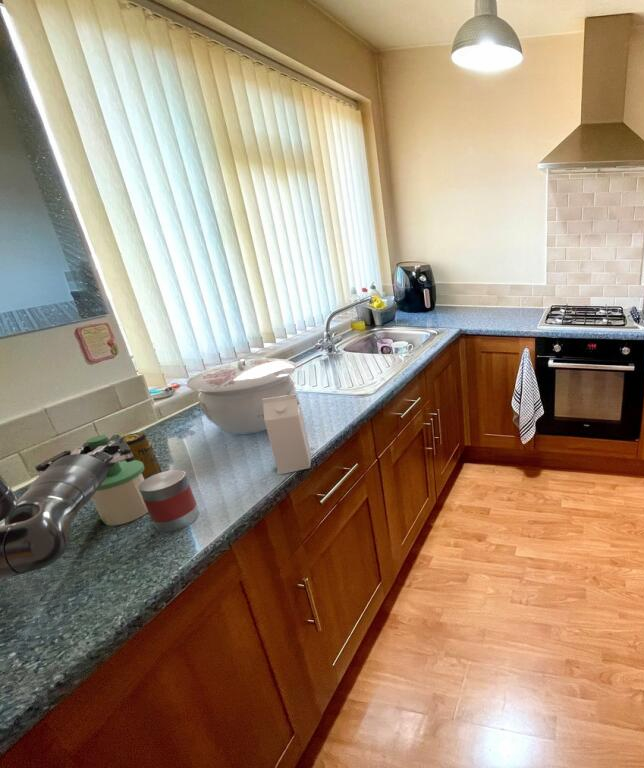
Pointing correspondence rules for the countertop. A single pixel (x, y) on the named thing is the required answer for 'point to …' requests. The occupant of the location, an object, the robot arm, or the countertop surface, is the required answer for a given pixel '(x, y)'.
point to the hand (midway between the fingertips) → (106, 440)
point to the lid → (116, 466)
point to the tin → (169, 500)
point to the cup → (120, 502)
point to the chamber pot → (242, 392)
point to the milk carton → (287, 433)
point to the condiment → (143, 453)
